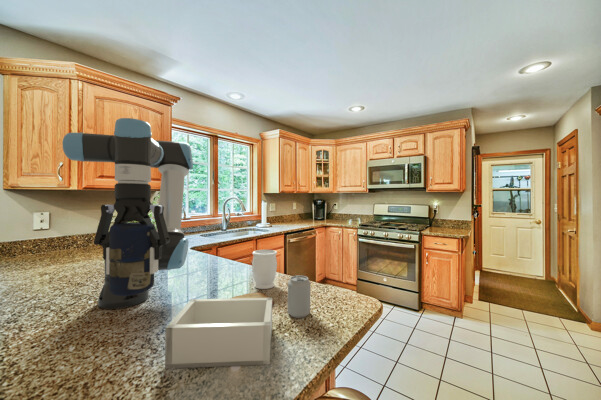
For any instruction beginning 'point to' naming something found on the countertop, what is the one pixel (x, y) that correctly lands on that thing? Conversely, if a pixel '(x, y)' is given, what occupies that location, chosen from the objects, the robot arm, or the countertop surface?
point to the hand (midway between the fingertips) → (132, 272)
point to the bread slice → (253, 296)
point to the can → (299, 296)
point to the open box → (220, 333)
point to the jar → (264, 268)
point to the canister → (130, 258)
